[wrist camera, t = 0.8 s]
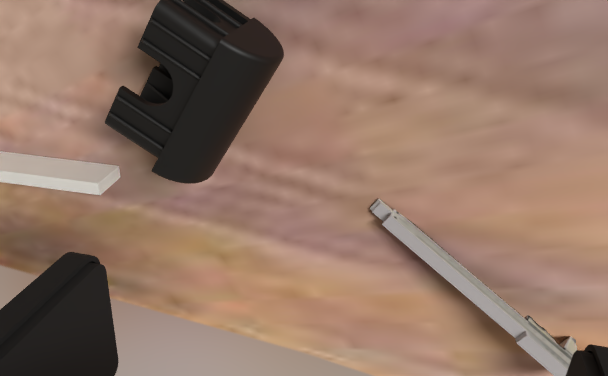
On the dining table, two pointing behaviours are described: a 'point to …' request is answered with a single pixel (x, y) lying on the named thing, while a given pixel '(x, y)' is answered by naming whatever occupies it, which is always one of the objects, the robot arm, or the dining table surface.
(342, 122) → the dining table surface
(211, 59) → the end cap
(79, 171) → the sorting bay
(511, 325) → the caliper
